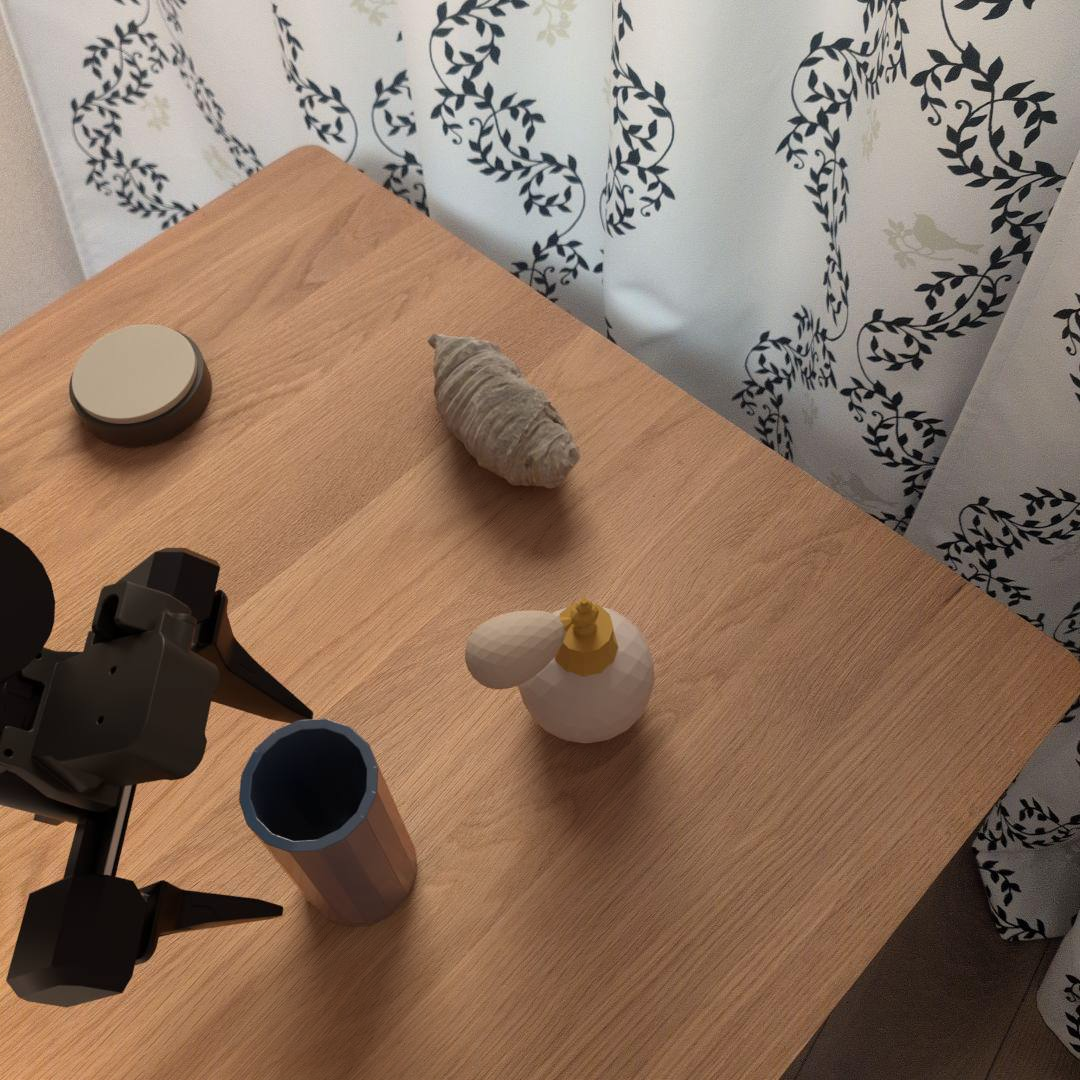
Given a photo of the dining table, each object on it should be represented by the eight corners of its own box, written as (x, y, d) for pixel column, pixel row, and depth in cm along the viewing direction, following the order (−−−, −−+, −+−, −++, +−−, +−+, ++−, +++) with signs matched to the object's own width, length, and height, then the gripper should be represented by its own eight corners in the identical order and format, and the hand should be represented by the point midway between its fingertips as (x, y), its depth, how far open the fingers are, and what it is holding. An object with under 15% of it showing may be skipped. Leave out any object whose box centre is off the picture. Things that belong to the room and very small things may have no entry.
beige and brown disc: (97, 466, 76) (82, 442, 73) (67, 372, 80) (52, 347, 78) (228, 417, 77) (217, 393, 75) (191, 328, 82) (180, 302, 80)
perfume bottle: (678, 690, 66) (693, 586, 55) (570, 819, 62) (565, 733, 52) (576, 617, 68) (572, 505, 58) (467, 737, 65) (442, 640, 54)
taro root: (478, 312, 78) (472, 270, 70) (591, 476, 76) (598, 453, 68) (399, 363, 77) (384, 327, 69) (511, 529, 76) (509, 512, 68)
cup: (326, 947, 59) (263, 875, 48) (289, 842, 62) (222, 752, 51) (434, 895, 60) (398, 814, 49) (392, 795, 63) (349, 697, 52)
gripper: (-56, 928, 34) (371, 1007, 43) (95, 430, 44) (418, 576, 53) (-161, 974, 42) (224, 1034, 50) (-11, 537, 51) (289, 650, 60)
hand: (294, 811), depth 53 cm, fingers open, 9 cm apart
